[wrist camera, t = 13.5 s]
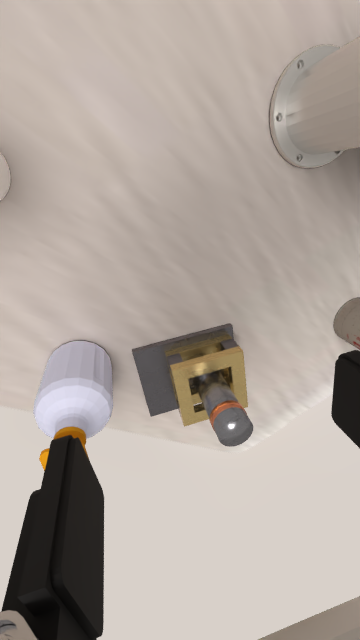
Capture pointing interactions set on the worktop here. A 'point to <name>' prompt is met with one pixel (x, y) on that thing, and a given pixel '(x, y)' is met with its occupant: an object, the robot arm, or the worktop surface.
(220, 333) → the tan frame fixture
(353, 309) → the thermos bottle
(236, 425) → the tube
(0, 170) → the cylindrical container
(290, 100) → the robot arm
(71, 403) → the soap bottle
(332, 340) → the worktop surface
